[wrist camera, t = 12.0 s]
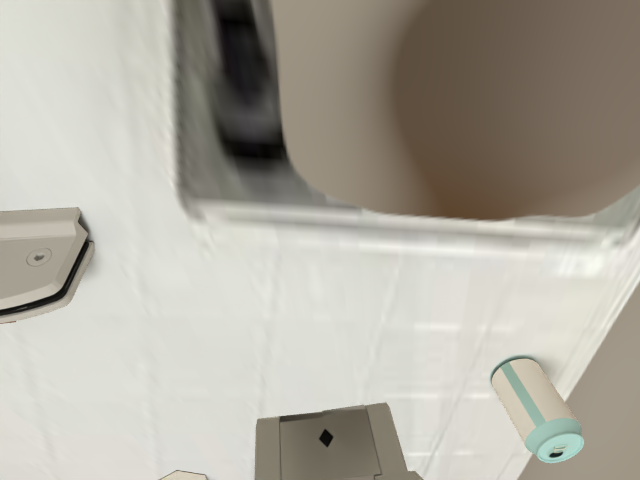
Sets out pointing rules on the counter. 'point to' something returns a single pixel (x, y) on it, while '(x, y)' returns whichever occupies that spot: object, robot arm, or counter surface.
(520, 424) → the can
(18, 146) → the counter surface
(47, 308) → the white curved block
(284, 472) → the robot arm
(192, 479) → the jar
